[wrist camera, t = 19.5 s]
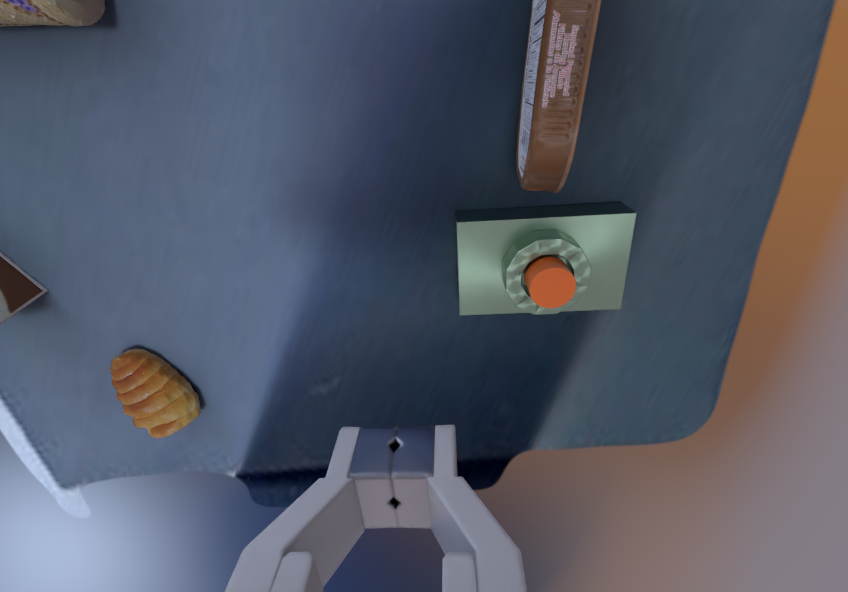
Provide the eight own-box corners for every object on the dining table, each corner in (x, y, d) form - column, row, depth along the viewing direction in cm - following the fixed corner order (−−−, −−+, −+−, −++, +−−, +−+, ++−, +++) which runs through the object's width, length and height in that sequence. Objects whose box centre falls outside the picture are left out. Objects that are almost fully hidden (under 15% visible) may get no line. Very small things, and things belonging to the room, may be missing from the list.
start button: (525, 257, 30) (530, 268, 29) (570, 255, 30) (578, 266, 28) (523, 296, 32) (528, 309, 30) (566, 294, 32) (574, 307, 30)
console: (455, 211, 34) (456, 231, 29) (621, 201, 33) (649, 220, 28) (458, 298, 37) (460, 328, 33) (608, 292, 36) (630, 322, 32)
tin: (545, 178, 32) (575, 208, 25) (504, 177, 32) (522, 206, 25) (583, -75, 25) (641, -140, 18) (530, -75, 25) (566, -140, 18)
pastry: (104, 356, 42) (75, 380, 39) (157, 336, 41) (132, 359, 37) (164, 422, 46) (142, 449, 42) (214, 405, 44) (195, 432, 41)
